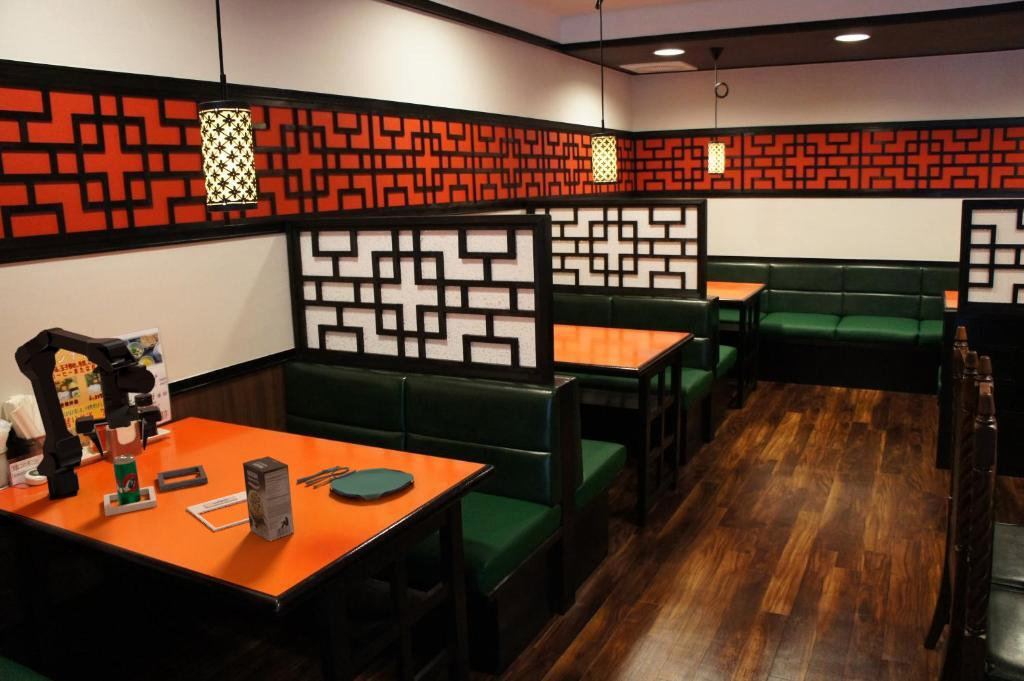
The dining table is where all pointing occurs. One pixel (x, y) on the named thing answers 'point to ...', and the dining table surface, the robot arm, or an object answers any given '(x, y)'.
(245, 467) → the coffee box
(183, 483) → the back socket
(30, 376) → the robot arm
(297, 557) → the dining table surface
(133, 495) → the soda can
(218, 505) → the photo frame
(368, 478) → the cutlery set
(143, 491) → the front socket
